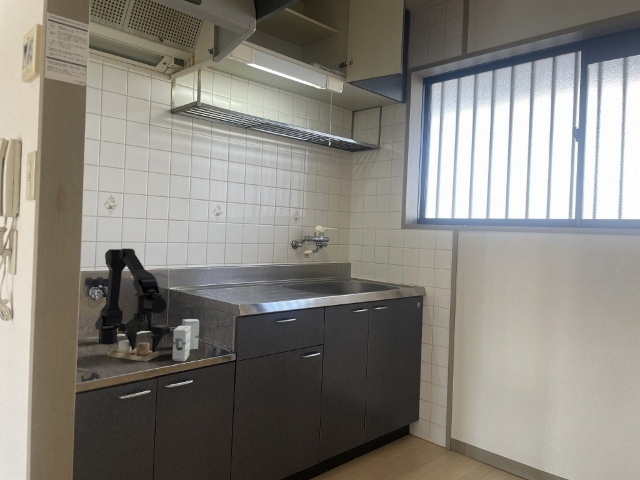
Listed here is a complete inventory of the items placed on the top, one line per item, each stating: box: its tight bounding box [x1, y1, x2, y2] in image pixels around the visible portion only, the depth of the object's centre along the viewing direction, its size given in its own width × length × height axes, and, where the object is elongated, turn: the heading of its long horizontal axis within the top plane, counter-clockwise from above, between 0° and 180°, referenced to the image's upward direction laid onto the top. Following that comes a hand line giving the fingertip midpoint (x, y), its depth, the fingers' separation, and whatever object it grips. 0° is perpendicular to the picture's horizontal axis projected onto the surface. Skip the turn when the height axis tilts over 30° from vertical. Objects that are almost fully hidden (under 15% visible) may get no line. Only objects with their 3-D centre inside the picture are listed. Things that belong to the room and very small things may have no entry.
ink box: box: [171, 325, 191, 362], centre depth 188 cm, size 9×5×12 cm, turn 3°
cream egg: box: [117, 339, 131, 354], centre depth 186 cm, size 4×4×5 cm
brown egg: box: [136, 341, 150, 357], centre depth 184 cm, size 4×4×5 cm
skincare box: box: [181, 318, 200, 350], centre depth 201 cm, size 6×4×12 cm
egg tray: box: [107, 348, 160, 362], centre depth 185 cm, size 16×9×2 cm, turn 75°
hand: (143, 351), depth 184 cm, fingers open, 8 cm apart
